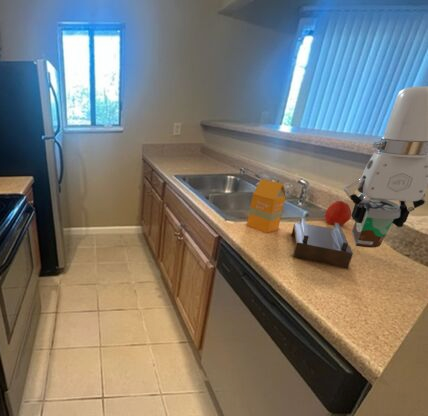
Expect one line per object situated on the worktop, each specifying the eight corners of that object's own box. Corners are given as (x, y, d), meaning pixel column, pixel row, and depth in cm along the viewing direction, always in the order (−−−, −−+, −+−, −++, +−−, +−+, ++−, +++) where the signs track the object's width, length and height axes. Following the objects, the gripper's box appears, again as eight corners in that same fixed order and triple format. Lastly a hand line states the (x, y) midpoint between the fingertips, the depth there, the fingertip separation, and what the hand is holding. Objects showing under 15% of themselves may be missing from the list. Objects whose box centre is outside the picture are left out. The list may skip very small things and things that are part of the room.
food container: (392, 256, 61) (409, 214, 58) (356, 248, 65) (370, 208, 61) (382, 235, 71) (397, 198, 67) (351, 229, 74) (363, 194, 70)
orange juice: (257, 222, 118) (267, 177, 111) (278, 230, 111) (289, 182, 104) (246, 226, 115) (255, 180, 108) (266, 234, 108) (277, 185, 100)
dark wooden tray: (336, 244, 99) (343, 223, 96) (346, 270, 84) (355, 246, 81) (290, 235, 106) (296, 215, 103) (292, 258, 91) (298, 235, 88)
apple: (352, 228, 111) (361, 203, 108) (331, 228, 112) (339, 204, 108) (336, 220, 119) (344, 197, 115) (317, 220, 119) (324, 197, 116)
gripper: (362, 149, 59) (338, 224, 66) (473, 152, 53) (435, 234, 60) (347, 144, 66) (326, 213, 72) (444, 146, 60) (413, 221, 66)
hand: (376, 222), depth 66 cm, fingers closed on food container, 6 cm apart
